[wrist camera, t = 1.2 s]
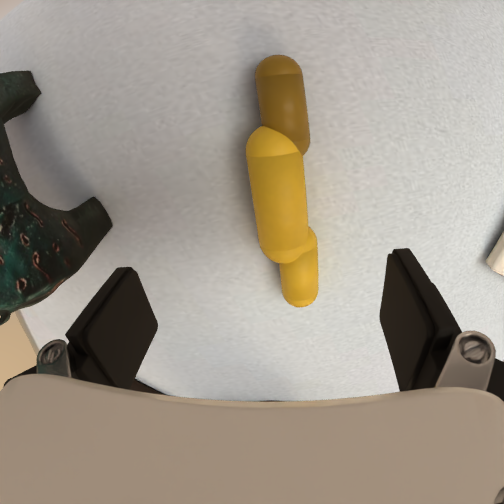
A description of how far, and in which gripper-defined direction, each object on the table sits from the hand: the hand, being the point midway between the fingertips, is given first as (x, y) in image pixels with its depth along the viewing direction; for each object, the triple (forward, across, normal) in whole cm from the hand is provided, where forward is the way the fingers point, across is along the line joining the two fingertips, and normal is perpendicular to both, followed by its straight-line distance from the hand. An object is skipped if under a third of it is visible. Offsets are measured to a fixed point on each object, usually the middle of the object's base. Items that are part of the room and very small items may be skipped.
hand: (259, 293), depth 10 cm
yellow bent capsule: (+11, 0, 0) cm, 11 cm away
